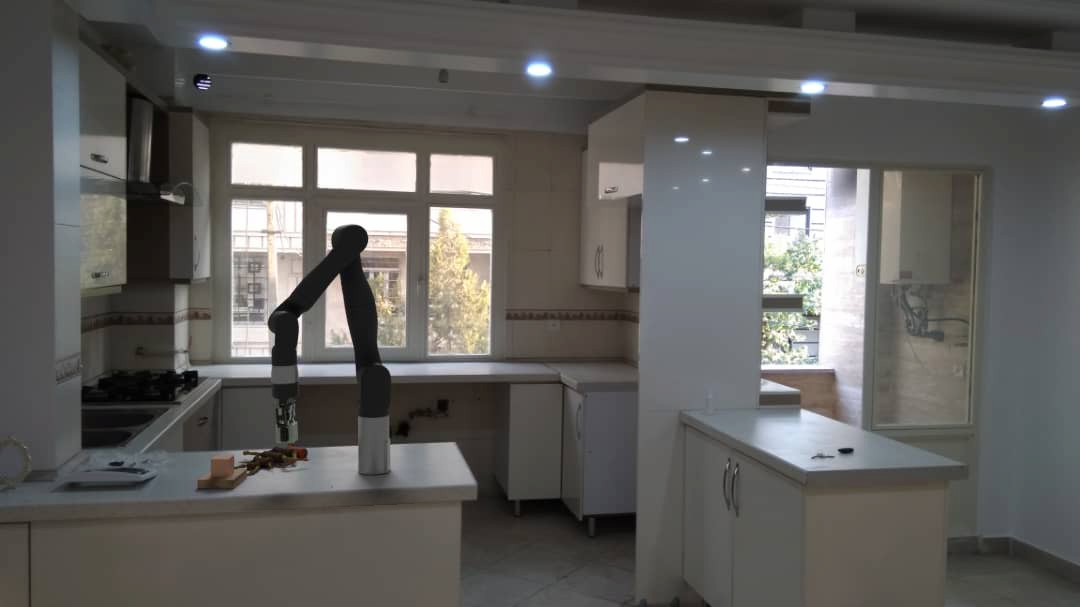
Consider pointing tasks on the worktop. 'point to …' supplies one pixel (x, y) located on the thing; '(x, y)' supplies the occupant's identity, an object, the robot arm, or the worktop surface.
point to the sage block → (292, 433)
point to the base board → (222, 480)
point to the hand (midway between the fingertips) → (287, 439)
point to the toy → (273, 458)
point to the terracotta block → (222, 465)
